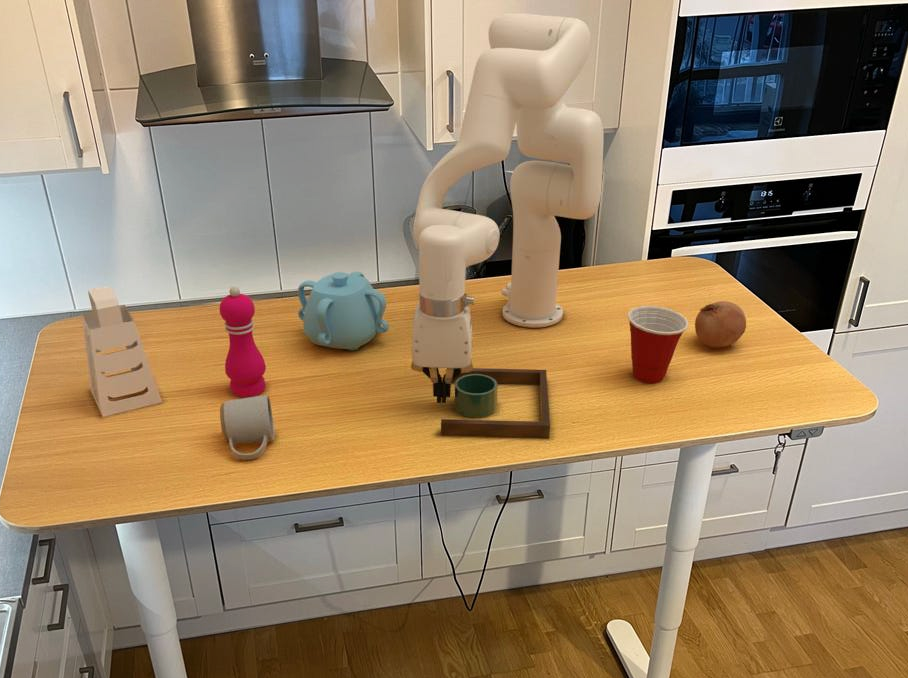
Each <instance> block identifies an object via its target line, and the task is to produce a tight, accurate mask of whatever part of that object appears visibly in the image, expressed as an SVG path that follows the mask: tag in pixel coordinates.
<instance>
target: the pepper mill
mask: <svg viewBox="0 0 908 678" xmlns="http://www.w3.org/2000/svg"><path fill="white" fill-rule="evenodd" d="M228 292H229V294H227V295H226V296H224V298H222V300H221V301H220V303H219V315H220V317H221V319H222V320H224V326H225V327H224V329H225V332H226V333H228V338H229V348H228V351H227V355H226V357H225V362H224V373H225V375H226V377H227V378H228V379H229V380H230V381H229V386H230V387H229V388H230V392H231V393H232V395H234V396H237V397H239V398H249V397H256V396H260V394H262V393H263V392H264V391H265V390H266V379H265V377H264V375H265V373H266V369H267V366H266V362H265V358H264V356H263V355H262V352H261V351H260V349H259V348H258V346H257V345H256V342H255V339H254V336H253V331H254V329H255V324H254V319H253V317H254V316H255V312H256V307H255V303H254V301H253V299H252V298H251V297H250V296H248V295H246V294H244V293H241V291H240V288H239V287H238V286H232V287H230V288H229V291H228Z"/></svg>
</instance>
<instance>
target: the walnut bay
mask: <svg viewBox="0 0 908 678" xmlns="http://www.w3.org/2000/svg"><path fill="white" fill-rule="evenodd" d="M469 374H482V375H487V376H489V377H492V378H494V379H495V381H496V382H497V385H499V384H501V385H507V384H508V385H537V386H538V389H539V391H538V392H539V403H540V404H539V408H540V419H541V420H540V421H535V420H534V421H532V420H531V421H530V420H497V419H496V420H493V419H491V420H489V419H459V418H458V419H457V418H455V419H454V418H451V419H450V418H448V419H447V418H441V419H440V436H453V437H454V436H457V437H460V436H461V437H488V438H489V437H495V438H527V439H528V438H529V439H531V438H532V439H533V438H534V439H550V434H551V418H550V417H551V415H550V403H549V389H548V376H547V375H548V373H547V369H527V368H525V369H524V368H491V367H489V368H485V367H484V368H483V367H482V368H481V367H473V371H472V372H467V373H460V374H459V375H458V376H457V377H456V378H454V379H453V380H452V382H451V384H452V383H454V384H455V381H456V380H457V379H458V378H460V377H462V376H464V375H469Z"/></svg>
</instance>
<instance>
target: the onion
mask: <svg viewBox="0 0 908 678" xmlns="http://www.w3.org/2000/svg"><path fill="white" fill-rule="evenodd" d="M699 310H700V311H699V312H698V313H697V314H696V317H695V321H694V330H695V331H694V332H695V334H696V337H697V338H698V340H699V341H700V342H701V343H702V344H704V345H705V346H706V347H708V348H711V349H713V348H714V349H716V348H717V349H719V348H726V347H731V346H732V345H733V344H735V343H736V342H737V341H738V340H739V339H741V337H742V336H743V335H744V333H745V332H746V329H747V318H746V314H745V313H744V311H743V309H742V308H741V306H739V305H737V304H736V303H734V302H731V301H724V300H723V301H716V302H712V303H709V304H705V306H702V308H700V309H699Z"/></svg>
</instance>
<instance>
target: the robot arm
mask: <svg viewBox="0 0 908 678" xmlns="http://www.w3.org/2000/svg"><path fill="white" fill-rule="evenodd" d="M591 42H592V38H591V31H590V29H589V26H588V25H587V24H586V22H585V21H583V20H581V19H580V18H576V17H570V16H569V17H568V16H559V15H558V16H556V15H544V14H536V13H535V14H534V13H520V12H509V13H503V14H500V15H497V16H495V17H494V18H493V19H492V21H491V22H490V25H489V27H488V43H489V47H490V49H488V50H486V51H485V50H484V51H483V52H482V53H481V55H479V57H478V59H477V60H476V64H475V66H474V71H473V75H472V79H471V84H470V88H469V93H468V97H467V102H466V106H465V111H464V115H463V118H462V119H463V120H462V124H461V128H460V133H459V137H458V141H457V142H456V144H455V146H454V147H453V148H452V149H451V150H450V151H448V152H447V153H446V154H445V155H443V157H442V158H441V159H440V160H439V161H438V162H437V163H436V164H435V165H434V167H433V168H432V170H431V171H430V172H429V174H428V175H427V177H426V179H424V181H423V184H422V187H421V189H420V193H419V197H418V201H417V206H416V210H415V215H414V221H413V228H412V229H413V230H412V234H413V240H414V241H413V242H414V243H415V245H416V247H417V248H418V281H419V282H418V285H419V287H418V288H419V289H418V290H419V291H418V293H419V295H418V296H419V302H418V303H419V304H418V305H417V306H416V307H415V310H414V315H413V322H412V323H413V324H412V336H411V360H412V361H411V363H410V369H411V370H412V371H415V372H418V373H419V372H420V373H423V374H424V375H425V376H426V377H428V378H429V380H430V382H431V383H432V397H433V398H436V404H439V405H440V404H443V405H446V404H447V398H451V393H452V392H451V386H452V385H451V384H452V380H453V379H454V378H456V377H457V376H458V375H459V374H460V373H467V372H472V371H473V368H474V364H473V360H472V356H473V325H472V317H471V311H470V307H469V306H473V305H474V304H475V303H474V302H475V297H474V296H470V295H468V293H466V275H467V274H466V272H467V271H466V270H467V268H468V267H471V266H473V265H477V264H480V263H482V262H485V261H487V260H488V259H490V257H492V256H493V254H494V253H495V252H496V250H497V248H498V246H499V243H500V238H501V237H500V236H501V235H500V229H499V226H498V224H497V223H496V222H495V221H494V220H493V219H492V218H490V217H489V216H485V215H481V214H475V213H469V212H463V211H458V210H454V209H453V210H452V209H446V208H443V204H444V201H445V198H446V196H447V194H448V191H449V190H450V189H451V187H452V186H453V185H454V184H455V183H456V182H457V181H458V180H460V179H461V178H462V177H464V176H465V175H468V174H469V173H472V172H474V171H477V170H479V169H481V168H485V167H488V166H492V165H494V164H497V163H500V162H502V161H504V160H505V159H507V158H508V156H509V154H510V150H511V145H512V142H513V136H514V133H515V128H516V143H517V147H518V149H519V150H518V151H520V153H521V154H522V155H524V156H526V157H528V158H531V159H535V160H525V161H524V162H521V163H519V164H518V165H517V166H516V167H515V168H514V170H513V171H512V173H511V176H510V180H509V181H510V182H509V192H510V200H511V201H510V202H511V208H512V223H513V225H512V227H513V228H512V253H511V254H512V255H511V277H510V280H511V281H510V282H508V283H507V284H506V286H505V288H502V289H501V292H500V293H501V295H502V296H504V297H507V303H506V304H505V305H504V306H503V307H502V314H501V315H502V317H503V318H504V320H505V321H507V322H508V323H510V324H512V325H515V326H518V327H523V328H531V329H532V328H534V329H535V328H536V329H537V328H547V327H550V326H553V325H555V324H558V323H559V322H561V321H562V319H563V317H564V310H563V308H562V307H561V305H559V304H558V303H557V298H558V297H557V296H558V283H559V281H558V280H559V271H560V270H559V269H560V255H561V244H562V243H561V242H562V234H561V228H560V226H559V222H558V221H557V218H556V217H561V218H568V219H573V220H587V219H590V218H591V217H594V215H595V214H596V212H597V211H598V209H599V206H600V204H601V203H600V202H601V198H602V187H603V166H604V165H603V163H604V140H605V139H604V135H605V134H604V126H603V122H602V119H601V117H600V115H599V114H597V112H595V111H593V110H590V109H587V108H579V107H570V106H567V105H566V104H565V101H564V96H565V94H566V93H567V91H568V90H569V88H570V87H571V85H572V84H573V83H574V81H575V80H576V79H577V77H578V76H579V75H580V73H581V71H582V70H583V68H584V67H585V65H586V63H587V60H588V58H589V54H590V51H591V44H592V43H591ZM439 369H446V370H445V373H444V374H443V377H442V375H441V373H440V370H439Z"/></svg>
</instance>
